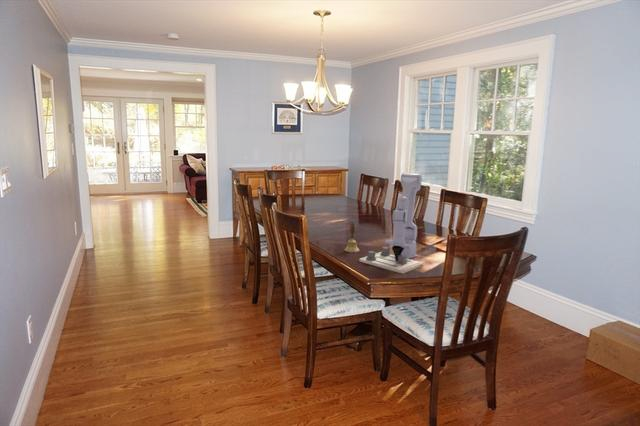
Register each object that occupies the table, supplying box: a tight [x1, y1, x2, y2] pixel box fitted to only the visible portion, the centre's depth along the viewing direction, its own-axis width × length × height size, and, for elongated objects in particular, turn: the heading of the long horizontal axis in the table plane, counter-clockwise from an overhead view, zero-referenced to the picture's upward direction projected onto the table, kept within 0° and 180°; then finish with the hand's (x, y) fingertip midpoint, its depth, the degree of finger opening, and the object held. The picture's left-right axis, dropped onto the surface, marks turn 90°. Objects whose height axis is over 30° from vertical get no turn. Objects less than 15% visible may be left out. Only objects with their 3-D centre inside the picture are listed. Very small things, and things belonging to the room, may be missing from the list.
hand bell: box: [344, 221, 360, 253], centre depth 244 cm, size 8×8×16 cm
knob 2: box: [380, 246, 391, 256], centre depth 232 cm, size 4×4×4 cm
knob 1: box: [366, 250, 376, 261], centre depth 223 cm, size 4×4×4 cm
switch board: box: [359, 251, 424, 275], centre depth 223 cm, size 18×26×2 cm
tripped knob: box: [396, 255, 407, 265], centre depth 218 cm, size 4×4×4 cm
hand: (397, 260), depth 220 cm, fingers closed
